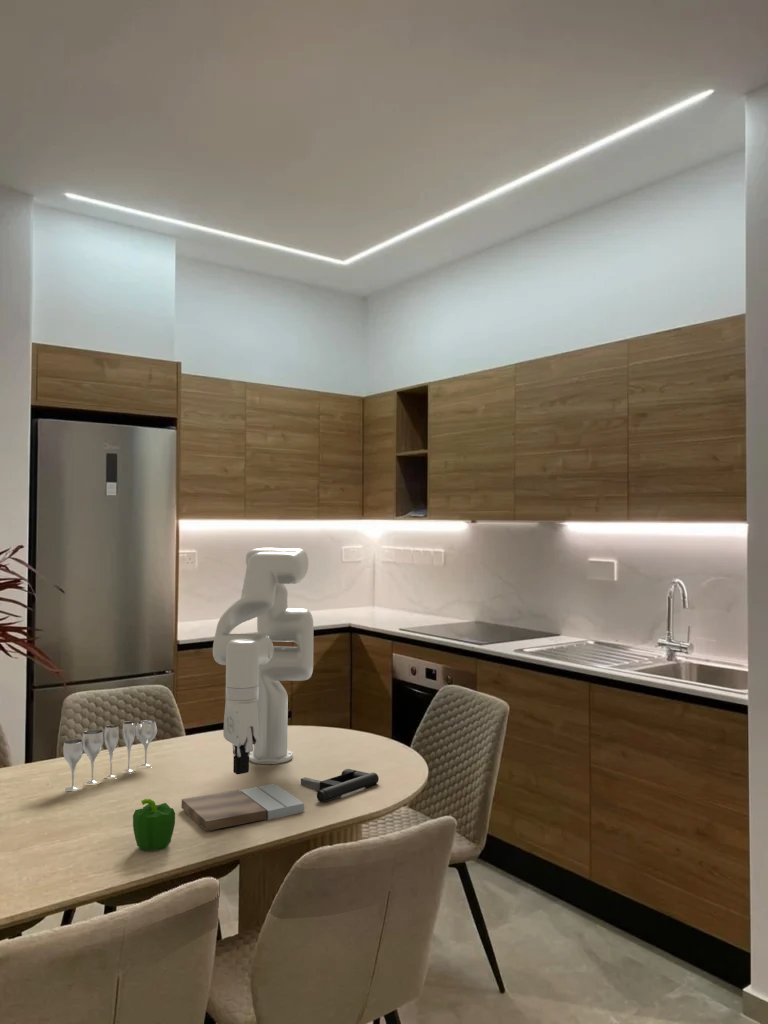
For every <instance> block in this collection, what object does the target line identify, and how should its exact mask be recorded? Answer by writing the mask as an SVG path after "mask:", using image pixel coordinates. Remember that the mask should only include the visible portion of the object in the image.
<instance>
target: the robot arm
mask: <svg viewBox="0 0 768 1024" xmlns="http://www.w3.org/2000/svg"><path fill="white" fill-rule="evenodd" d="M245 565H246V569H245V574H244V579H243V584H242V590H241V595H240V598H239V599H238V600H237V601H235V602H234V603H232V605H231V606H229V607H228V608H227V609H226V610H225V611H224V613H223V614H222V615H221V616H220V619H219V620H218V621H217V624H216V625H217V626H216V629H215V634H214V638H213V644H212V656H213V659H214V661H215V662H216V663H217V664H219V665H221V666H225V705H224V715H223V716H224V717H223V738H224V739H225V741H227V742H229V743H230V744H232V754H233V762H232V763H233V770H232V771H233V773H234V774H235V775H237V776H238V775H242V774H248V773H249V772H250V762H252V763H254V764H261V765H278V764H283V763H287V762H289V761H290V760H292V759H293V757H294V756H293V755H294V753H293V751H291V750H289V749H288V724H289V723H288V722H289V721H288V719H289V718H288V716H289V707H288V705H289V704H288V702H289V698H288V697H289V696H288V693H287V690H286V688H285V687H284V686H283V685H282V683H281V682H280V681H293V682H294V681H301V682H303V681H307V680H309V679H310V678H311V677H312V676H313V675H312V674H313V672H314V671H313V670H314V635H315V634H314V619H313V615H312V613H311V611H310V610H308V609H307V608H301V607H299V608H298V607H297V608H296V607H295V608H294V607H289V606H288V589H287V587H286V585H297V584H299V583H300V582H301V581H302V580H303V579H304V578H305V576H306V575H307V573H308V571H309V570H308V569H309V557H308V553H307V552H306V551H305V550H304V549H302V548H292V547H291V548H284V547H283V548H282V547H260V548H258V547H257V548H253V549H251V550H249V551H248V552H247V553H246V555H245ZM255 618H257V619H256V624H257V627H256V630H257V634H256V633H255V634H254V633H253V634H251V633H231V632H232V631H233V630H234V629H235V628H236V627H237V626H239V625H241V624H242V623H246V622H248V621H250V620H253V619H255ZM273 642H285V643H287V642H288V643H289V642H291V643H295V644H296V645H297V646H286V645H285V646H284V645H283V646H282V645H279V646H278V645H274V643H273Z"/></svg>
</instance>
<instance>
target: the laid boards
mask: <svg viewBox="0 0 768 1024" xmlns="http://www.w3.org/2000/svg"><path fill="white" fill-rule="evenodd" d="M239 791H241V792H242V793H244V794H245V795H246V796H248V797H249V798H250V799H252V800H253V801H254V802H256V803H257V804H258V805H260V806H261V807H262V808H264V809H265V810H266V819H265V820H267V821H268V820H269V821H270V820H274V819H279V818H283V817H286V816H288V817H289V816H292V815H297V814H301V812H302V813H304V812H305V803H304V802H302V801H301V800H300V799H298V798H296V797H295V796H294V795H292V794H291V793H289V792H288V791H286V790H285V789H283V788H282V787H280V786H278V785H277V784H276V783H272V784H266V785H260V786H255V787H250V788H244V789H240V790H239ZM278 817H279V818H278ZM273 818H274V819H273Z"/></svg>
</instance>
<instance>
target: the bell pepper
mask: <svg viewBox="0 0 768 1024" xmlns="http://www.w3.org/2000/svg"><path fill="white" fill-rule="evenodd" d="M140 802H141V804H142V805H145V806H143V807H142V808H138V809H135V810H134V813H133V815H132V828H133V834H134V837H135V842H136V845H137V848H139V850H141V851H143V852H144V851H151V850H155V851H161V850H163V849H166V848H167V847H168V846H169V845H170V844H171V841H172V837H173V834H174V830H175V825H176V812H175V809H174V808H173V807H171V806H169V805H168V803H167V802H163V803H159V804H156V802H155V801H154V800H153V799H151V798H144V799H142V800H141V801H140Z"/></svg>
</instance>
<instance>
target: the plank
mask: <svg viewBox="0 0 768 1024" xmlns="http://www.w3.org/2000/svg"><path fill="white" fill-rule="evenodd" d="M180 807H181V809H182V810H184V812H185V813H186V814H187V815H188V816H189V817H190V818H192V819H193V820H194V822H195V823H197V824H198V825H199V826H200V827H201V828H202V829H204V830H205V832H207V831H213V830H217V829H222V828H228V827H233V826H238V825H244V824H249V823H254V822H259V821H265V820H267V819H266V810H265V809H264V808H262V807H261V806H260V805H258V804H257V803H256V802H254V801H253V800H252V799H250V798H249V797H248V796H246V795H245V794H244V793H242V792H241V791H240V790H239V789H235V790H229V791H223V792H222V791H221V792H216V793H211V794H205V795H199V796H191V797H186V798H182V799H181V806H180Z"/></svg>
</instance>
